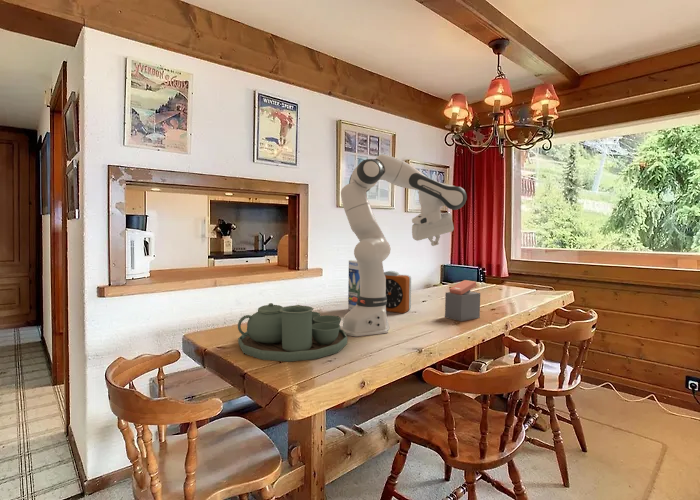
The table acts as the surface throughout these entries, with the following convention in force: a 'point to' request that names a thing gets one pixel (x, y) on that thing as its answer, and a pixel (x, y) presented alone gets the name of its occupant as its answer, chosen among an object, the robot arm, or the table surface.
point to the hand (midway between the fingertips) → (435, 245)
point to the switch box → (462, 306)
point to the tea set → (291, 334)
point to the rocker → (463, 287)
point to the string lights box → (353, 283)
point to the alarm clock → (398, 292)
